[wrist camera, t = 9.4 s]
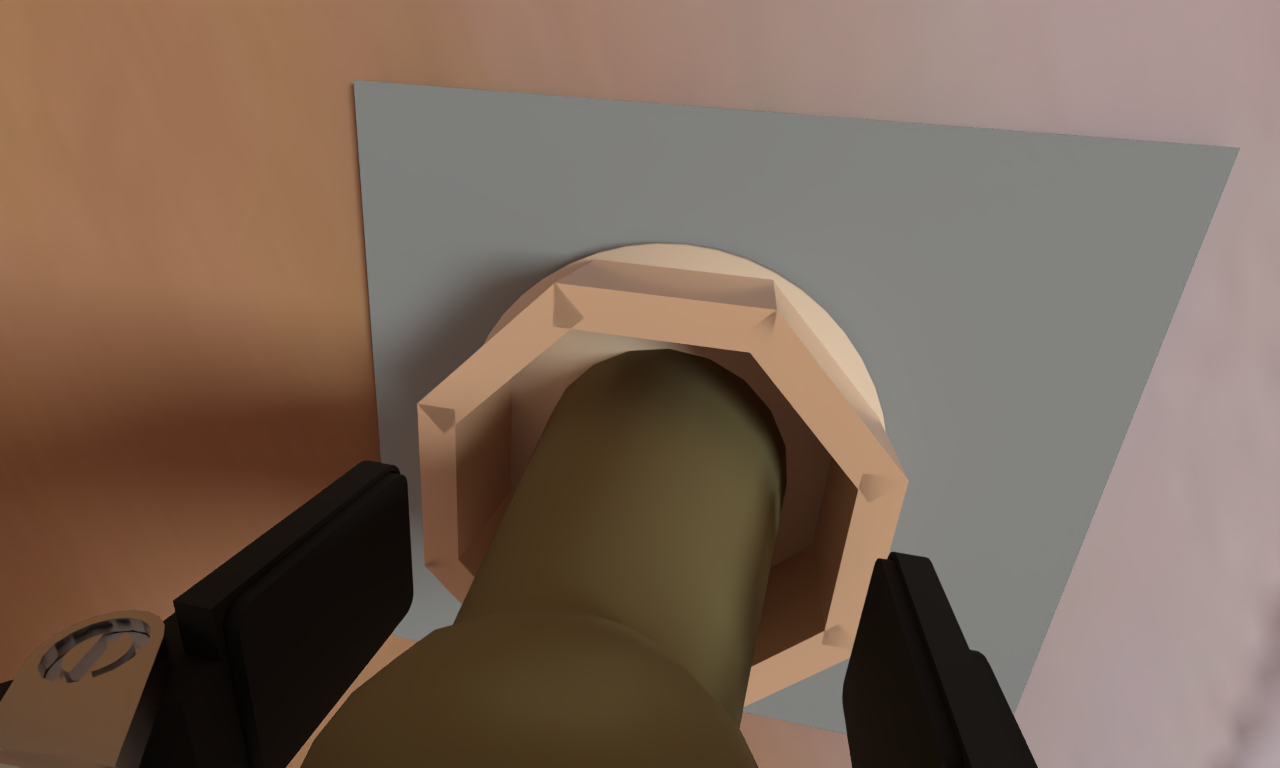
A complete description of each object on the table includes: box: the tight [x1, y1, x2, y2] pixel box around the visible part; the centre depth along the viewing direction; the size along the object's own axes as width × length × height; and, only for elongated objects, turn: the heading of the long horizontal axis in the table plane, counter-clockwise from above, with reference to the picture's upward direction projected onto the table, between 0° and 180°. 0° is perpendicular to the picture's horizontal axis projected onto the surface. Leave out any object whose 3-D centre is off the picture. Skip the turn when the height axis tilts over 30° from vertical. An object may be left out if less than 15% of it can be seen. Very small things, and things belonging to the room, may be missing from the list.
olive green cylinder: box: [300, 349, 787, 768], centre depth 10 cm, size 6×6×11 cm
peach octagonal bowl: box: [417, 242, 909, 707], centre depth 14 cm, size 10×10×4 cm
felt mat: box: [353, 80, 1240, 734], centre depth 16 cm, size 16×18×1 cm
